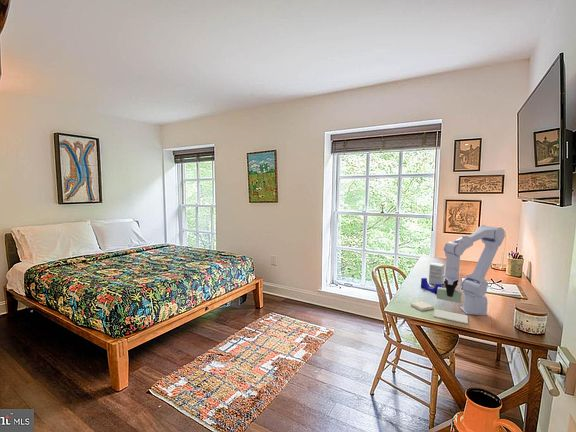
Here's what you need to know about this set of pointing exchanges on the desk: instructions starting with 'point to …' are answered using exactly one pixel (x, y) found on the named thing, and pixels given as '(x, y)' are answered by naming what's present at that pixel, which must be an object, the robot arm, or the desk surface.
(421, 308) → the tile
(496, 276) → the desk surface
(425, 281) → the cable clip
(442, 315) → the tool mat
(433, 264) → the supplement box
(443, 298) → the block
